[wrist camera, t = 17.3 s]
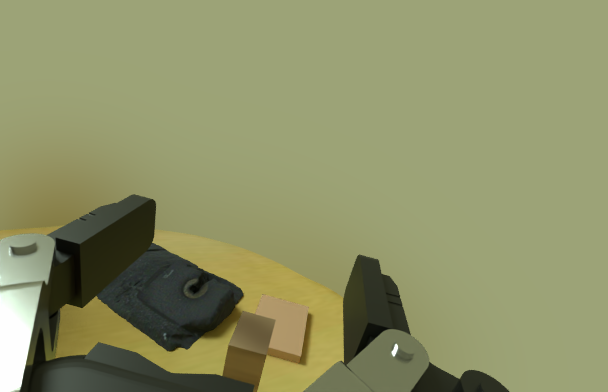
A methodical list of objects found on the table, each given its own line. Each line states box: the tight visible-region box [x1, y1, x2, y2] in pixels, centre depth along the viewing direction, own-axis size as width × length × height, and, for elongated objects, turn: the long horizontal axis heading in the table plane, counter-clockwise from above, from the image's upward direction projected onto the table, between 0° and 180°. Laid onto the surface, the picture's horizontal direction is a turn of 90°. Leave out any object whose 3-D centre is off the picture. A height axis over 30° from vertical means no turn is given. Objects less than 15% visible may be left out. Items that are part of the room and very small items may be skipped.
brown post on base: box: [223, 311, 276, 392], centre depth 30 cm, size 9×6×15 cm, turn 173°
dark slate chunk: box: [96, 243, 243, 351], centre depth 49 cm, size 15×22×5 cm
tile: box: [255, 294, 309, 363], centre depth 47 cm, size 2×8×10 cm
